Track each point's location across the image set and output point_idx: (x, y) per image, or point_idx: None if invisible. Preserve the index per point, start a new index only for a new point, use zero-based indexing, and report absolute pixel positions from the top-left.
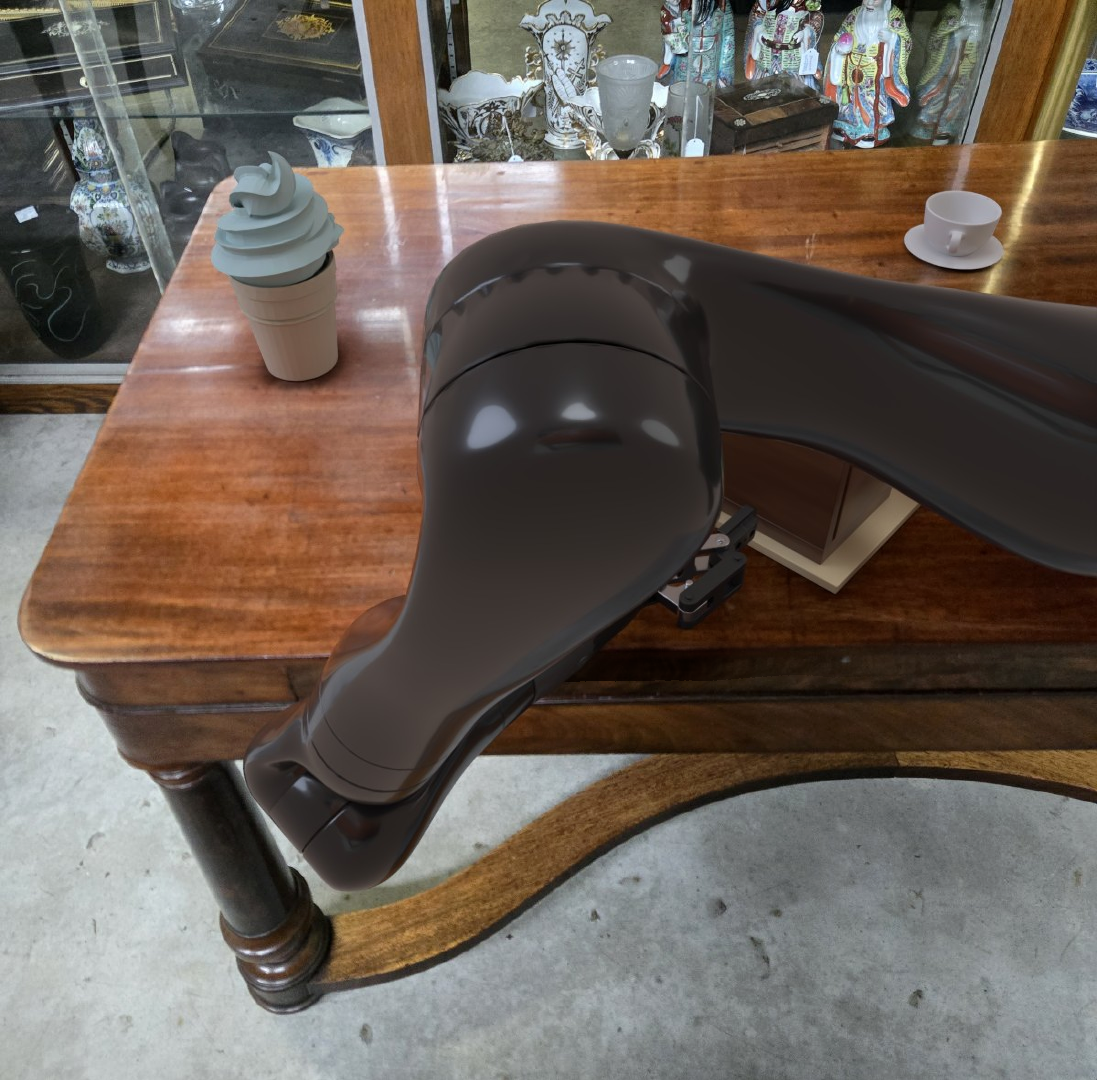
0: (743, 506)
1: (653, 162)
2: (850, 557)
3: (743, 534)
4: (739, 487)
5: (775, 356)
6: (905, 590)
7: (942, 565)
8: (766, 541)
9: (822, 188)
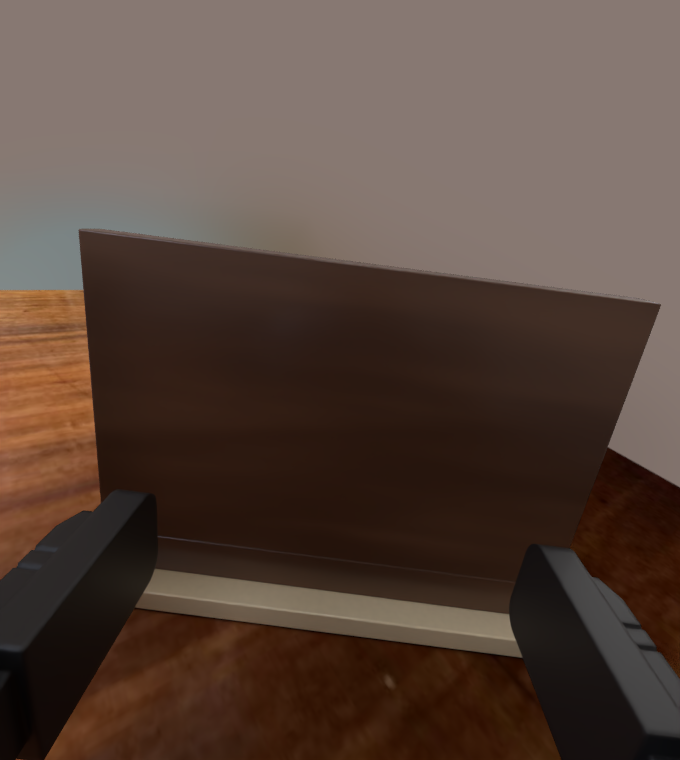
0: (544, 557)
1: (38, 291)
2: None
3: (677, 677)
4: (348, 520)
5: None
6: (639, 596)
7: (606, 534)
8: (427, 615)
9: None
